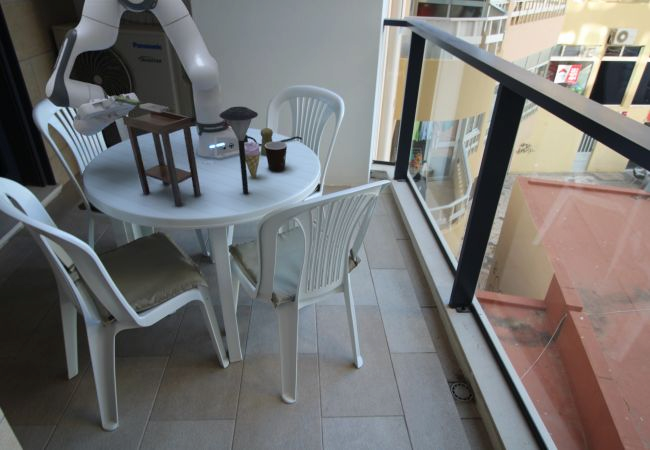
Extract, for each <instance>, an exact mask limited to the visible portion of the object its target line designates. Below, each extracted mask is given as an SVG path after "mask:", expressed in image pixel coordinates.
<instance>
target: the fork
mask: <svg viewBox="0 0 650 450" xmlns="http://www.w3.org/2000/svg"><path fill="white" fill-rule="evenodd" d="M112 96H116V99H117V100H118V102H122V103H126V104H131V105H135V107H139V108H140V109H142V110H147V111H150V110H151V111H155V112H159V113H161V112H164V111H166V112H168V111H170V107H168V106H164V105H160V104H156V103H152V102H146V103H143V102H142V101H141V100H139V101H137V100H133V99H128V98H124V97H119V95H111V96H109V98H110V97H112Z"/></svg>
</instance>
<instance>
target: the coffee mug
mask: <svg viewBox="0 0 650 450" xmlns="http://www.w3.org/2000/svg"><path fill="white" fill-rule="evenodd" d="M278 141H279V140H278ZM278 141H277V140H276V141H273V142H269V143H266V144H265V150H266V156H265V157H266V160H267V161H266V162H267V167H268V170H269V171H270V172H271V173H282V172H284V171H285V170H286V159H287V148H288V145H287V142H285V141H284V142H278Z"/></svg>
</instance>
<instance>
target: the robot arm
mask: <svg viewBox="0 0 650 450" xmlns="http://www.w3.org/2000/svg"><path fill="white" fill-rule="evenodd" d="M144 11H150V12H152V14H154V16H155V17H156V19H157V21H158V22H159V24H160V25H161V27H162V29H163V31H164V32H165V34H166V36H167V38H168V40H169V41H170V43H171V45H172V47H173V48H174V50H175V52H176V54H177V56H178V59H179V61H180V63H181V65H182V66H183V69H184V72H185V73H186V75H187V77H188V79H189V81H190V82H191V86H192V96H193V105H194V111H195V112H194V113H195V118H196V119H195V127H196V133H197V137H198V145H197V152H196V153H197V155H198V156H200V157H203V158H208V159H216V160H224V159H227V158H231V157H235V156H240V154H239V143H238V139H237V137H236V135H235V133H234V132H233V130H232V128H231V126H230V124H229V123H228V121H227V120H225V119H222V118H220V116H219V115H220V114H221V113H222V112H224V109H223V107H224V106H223V99H222V89H221V81H220V71H219V65H218V62H217V61H216V59H215V58H214V57H213V56H211V54H210V52H209V50H208V48H207V46H206V43H205V41H204V38H203V37H202V34H201V33H200V31H199V29H198V27H197V25H196V23H195V21H194V19H193V18H192V16H191V14H190V12H189V10H188V8H187V6H186V5H185V3H184V2H183V0H84V3H83V8H82V13H81V17H80V18H81V19H80V21H79V23H78V24H77V26H76V27H75V28H72V29H69V30H68V31H67V33H66V34H65V37H64V39H63V42H62V44H61V46H60V49H59V51H58V55H57V58H56V61H55V64H54V66H53V70H52V72H51V74H50V76H49V78H48V80H47V83H46V84H45V85H46V86H45V96H46V98H47V99H48V101H49V102H50V103H51V104H53V105H54V106H55V107H57V108H59V107H60V108H66V109H75V110H76V115H75V116H74V117H73V118H74V119H73V122H72V126H73V129H74V130H75V131H76V132H77V133H78V134H79V135H82V136H86V137H92V136H95V135H98V134H99V133H100V132H102V131H103V130H105V128H107V127H109V125H111V124H113V123H114V122H116V121H117V120H119V119H121V118H122V119H123V117H122V116H128V115H129V114H130V113H129V112H130V111H132V110H134V109H135V108H136V106H135V105H131V104H126V103H122V102H118V100H117V99H116V96H117V95H115V96H114V95H111V96H112V97H110V96H109V95H108V94H107V92H106V91H105V89H104V87H102V86H101V85H97V84H92V83H89V82H84V81H80V80H75V79H72V78H70V76H71V72H72V70H73V67H74V64H75V61H76V59H77V57H78V56H79V55H81V54H82V53H84V52H88V51H103V50H106V49H109V48H111V47H112V46H114V45H115V44H116V41H117V39H118V35H119V30H120V24H121V18H122V15H123V13H124V12H133V13H141V12H144ZM118 96H119V97H124V98H128V99H133V100H137V101H140V100H139V98H138V96H137V95H136V93H135V92H130V93H126V94H125V93H122V94H121V93H120V94H118ZM249 139H250V140H252V141H253V143H254V142H256V144H257V143H258V142H257V140H256V138H254V137H252V136H250V135H248V134H246V136H245V138H244V147H245V146H246V143H247V142H249ZM295 139H298V140H300V141H301V140H303V138H302V137H301V136H292V137H289V138H284V139H282V140H278V142H284V143H285V142H288V141H293V140H295ZM258 144H259V147H261V144H262V143H258Z"/></svg>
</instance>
